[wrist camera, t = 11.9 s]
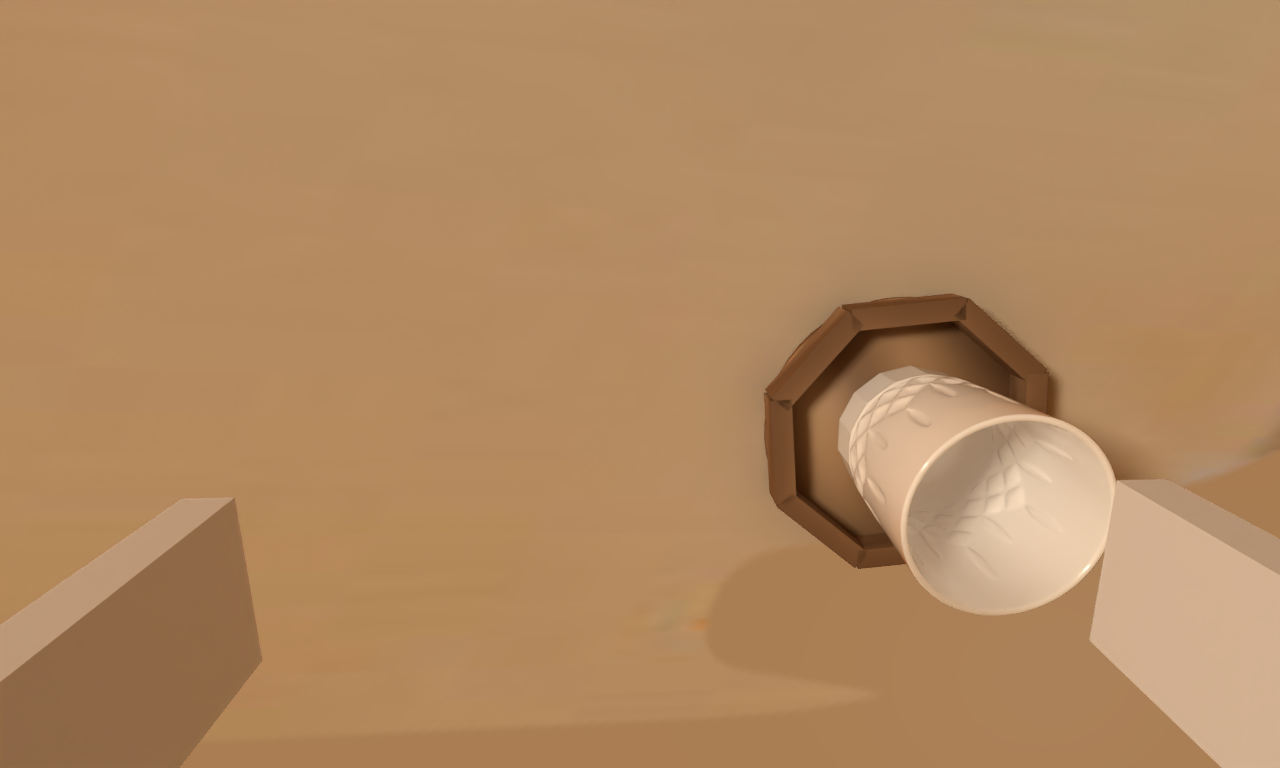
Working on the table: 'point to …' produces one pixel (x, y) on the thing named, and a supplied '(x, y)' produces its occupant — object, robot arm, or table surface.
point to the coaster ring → (841, 364)
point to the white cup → (977, 489)
